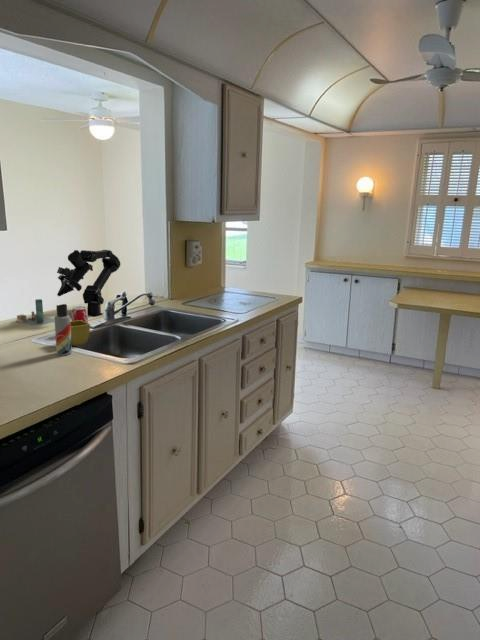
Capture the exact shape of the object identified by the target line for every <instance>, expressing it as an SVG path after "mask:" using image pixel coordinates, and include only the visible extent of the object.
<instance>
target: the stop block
mask: <svg viewBox="0 0 480 640" xmlns="http://www.w3.org/2000/svg"><path fill="white" fill-rule="evenodd" d="M16 318H17V319H16V323H18V322H21V323H20V324H23V323H22V322H26V321H27V319H28V317H27V315H25V314H18V315H16Z"/></svg>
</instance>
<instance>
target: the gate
mask: <svg viewBox="0 0 480 640" xmlns="http://www.w3.org/2000/svg"><path fill="white" fill-rule="evenodd" d="M34 303H35V313H34V314H33V315H32V314H31V317H32V316H33V319H35V320H37V323H43V322H44V320H43V317H44V311H43V309H44V308H43V306H44V305H43V299H41V298H37V299H35V301H34Z"/></svg>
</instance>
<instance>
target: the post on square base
mask: <svg viewBox="0 0 480 640" xmlns="http://www.w3.org/2000/svg"><path fill="white" fill-rule="evenodd" d="M33 314H35V311H31V317H27V319H28V320H35V319H33V316H32V315H33Z"/></svg>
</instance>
